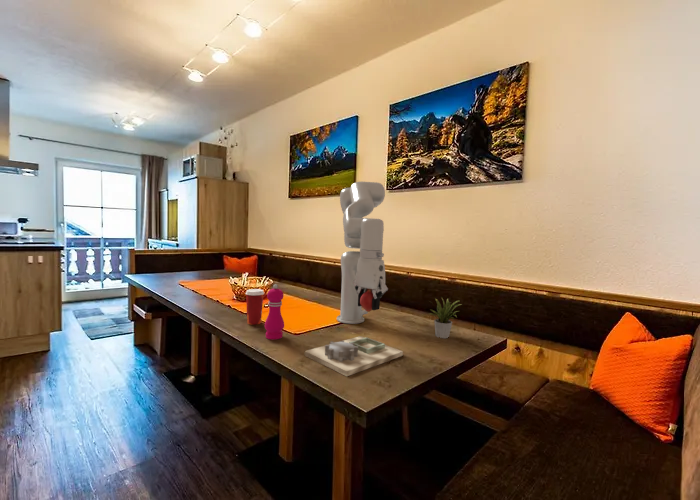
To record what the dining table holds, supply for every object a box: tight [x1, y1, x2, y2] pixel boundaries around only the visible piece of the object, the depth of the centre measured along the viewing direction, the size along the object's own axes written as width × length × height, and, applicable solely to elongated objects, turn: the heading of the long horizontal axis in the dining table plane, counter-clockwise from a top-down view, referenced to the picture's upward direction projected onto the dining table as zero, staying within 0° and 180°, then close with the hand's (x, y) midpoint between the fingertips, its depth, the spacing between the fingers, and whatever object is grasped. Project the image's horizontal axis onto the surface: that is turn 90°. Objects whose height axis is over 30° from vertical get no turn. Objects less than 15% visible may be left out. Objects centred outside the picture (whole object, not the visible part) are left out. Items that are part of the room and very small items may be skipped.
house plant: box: [427, 296, 463, 339], centre depth 138 cm, size 14×14×16 cm
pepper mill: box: [264, 283, 285, 340], centre depth 129 cm, size 7×7×20 cm
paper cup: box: [245, 288, 265, 326], centre depth 146 cm, size 8×8×14 cm
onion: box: [360, 289, 374, 313], centre depth 117 cm, size 6×6×8 cm
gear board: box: [304, 335, 404, 377], centre depth 114 cm, size 26×20×4 cm
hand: (368, 307), depth 117 cm, fingers closed on onion, 5 cm apart
